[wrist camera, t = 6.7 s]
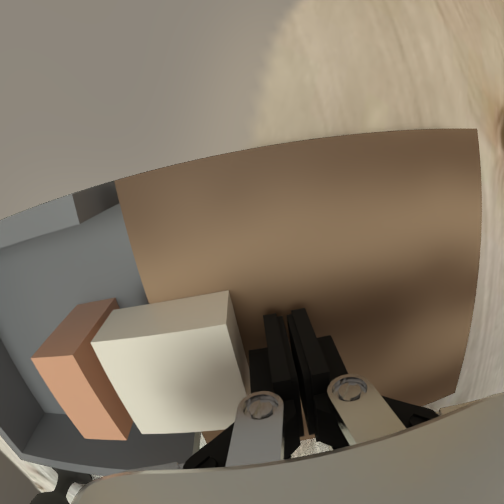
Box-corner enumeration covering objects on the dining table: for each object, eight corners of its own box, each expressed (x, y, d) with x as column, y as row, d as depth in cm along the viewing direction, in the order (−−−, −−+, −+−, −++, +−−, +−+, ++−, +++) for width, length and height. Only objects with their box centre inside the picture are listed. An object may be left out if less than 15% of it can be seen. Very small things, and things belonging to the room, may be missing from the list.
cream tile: (253, 385, 14) (256, 425, 11) (153, 396, 14) (141, 433, 11) (228, 290, 12) (226, 324, 10) (113, 309, 12) (90, 342, 10)
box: (202, 417, 18) (196, 479, 13) (45, 416, 18) (21, 459, 14) (123, 177, 13) (71, 194, 9) (-41, 237, 14) (-91, 263, 9)
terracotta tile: (126, 440, 12) (85, 438, 12) (149, 374, 16) (113, 377, 16) (72, 355, 10) (30, 358, 10) (115, 297, 15) (77, 304, 15)
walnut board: (434, 365, 18) (454, 392, 15) (213, 416, 18) (211, 452, 15) (440, 128, 13) (476, 128, 10) (138, 173, 13) (114, 180, 11)
